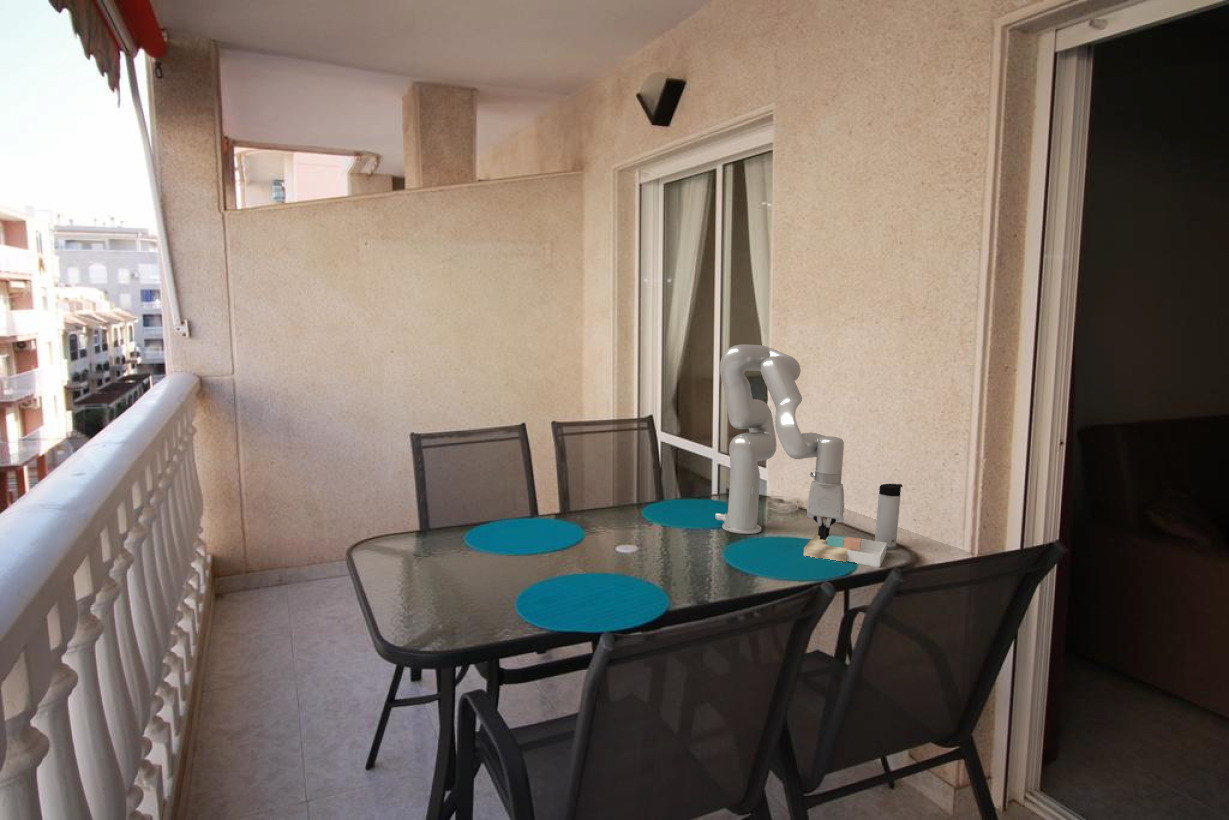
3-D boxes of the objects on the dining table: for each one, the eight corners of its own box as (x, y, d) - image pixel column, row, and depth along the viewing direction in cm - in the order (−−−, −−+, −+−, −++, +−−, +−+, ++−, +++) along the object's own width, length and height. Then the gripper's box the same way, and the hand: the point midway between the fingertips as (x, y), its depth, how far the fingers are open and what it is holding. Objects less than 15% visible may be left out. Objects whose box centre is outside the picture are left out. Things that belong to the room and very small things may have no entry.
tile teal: (827, 545, 227) (827, 536, 226) (830, 541, 231) (830, 533, 230) (842, 547, 225) (843, 539, 224) (845, 544, 229) (846, 536, 228)
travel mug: (898, 551, 233) (904, 486, 231) (875, 549, 235) (881, 484, 233) (895, 545, 239) (900, 482, 237) (873, 543, 241) (878, 480, 239)
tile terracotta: (842, 547, 225) (843, 539, 224) (845, 544, 229) (846, 536, 228) (858, 550, 223) (859, 542, 222) (861, 546, 227) (861, 538, 226)
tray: (846, 562, 219) (847, 550, 218) (854, 549, 233) (855, 537, 233) (879, 567, 215) (880, 555, 215) (886, 554, 229) (887, 542, 229)
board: (803, 556, 223) (804, 547, 223) (815, 542, 239) (816, 534, 239) (846, 563, 218) (846, 554, 218) (855, 548, 234) (856, 540, 234)
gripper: (799, 477, 227) (795, 537, 229) (852, 483, 221) (847, 546, 223) (805, 473, 234) (800, 532, 236) (856, 479, 227) (851, 540, 229)
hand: (823, 538), depth 229 cm, fingers closed
